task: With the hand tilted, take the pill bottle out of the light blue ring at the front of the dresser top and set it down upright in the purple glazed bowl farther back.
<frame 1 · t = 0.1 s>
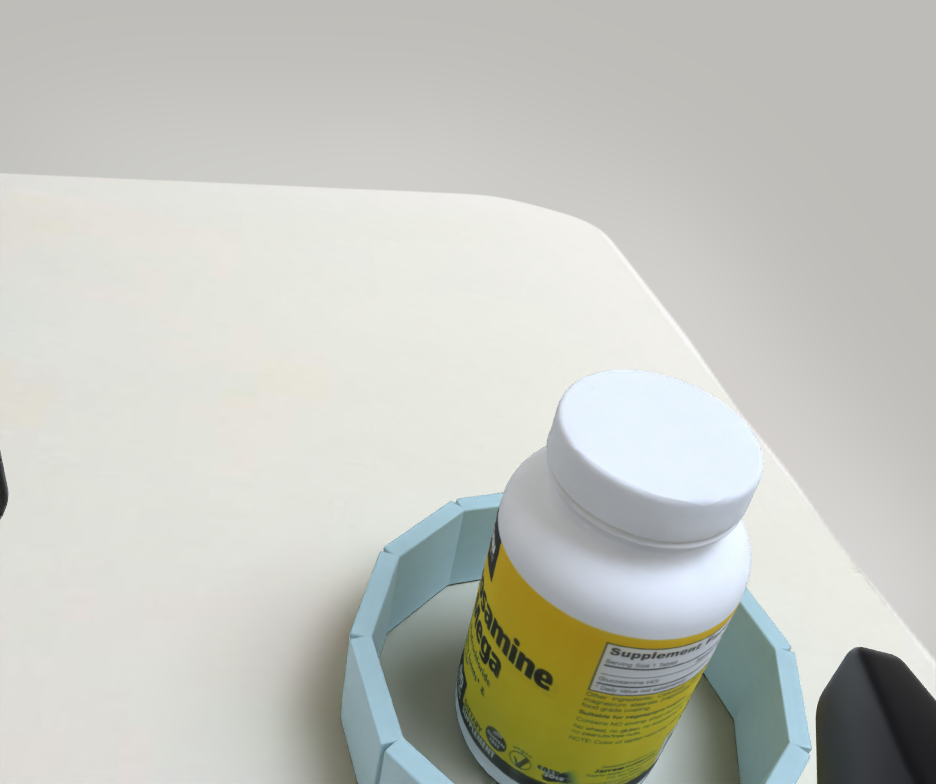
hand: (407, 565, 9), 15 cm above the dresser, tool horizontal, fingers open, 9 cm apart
light blue ring: (554, 717, 25), on the dresser
pill bottle: (552, 721, 25), resting in light blue ring
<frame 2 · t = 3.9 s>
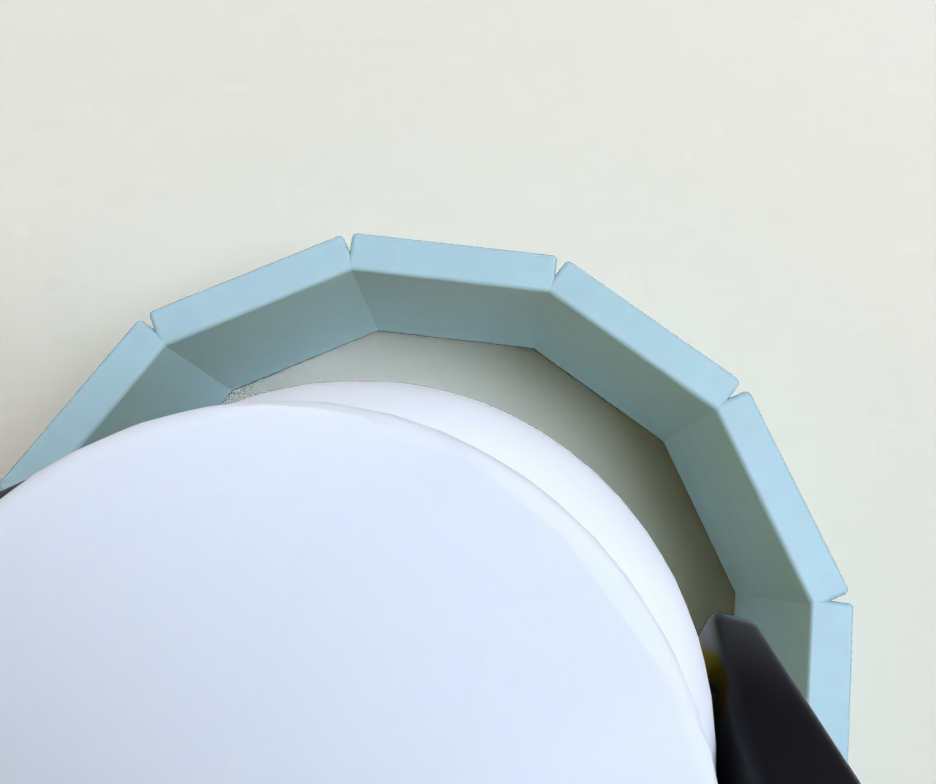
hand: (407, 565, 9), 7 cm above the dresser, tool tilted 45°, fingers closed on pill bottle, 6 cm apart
light blue ring: (417, 639, 15), on the dresser
pill bottle: (417, 638, 15), resting in light blue ring, touching gripper
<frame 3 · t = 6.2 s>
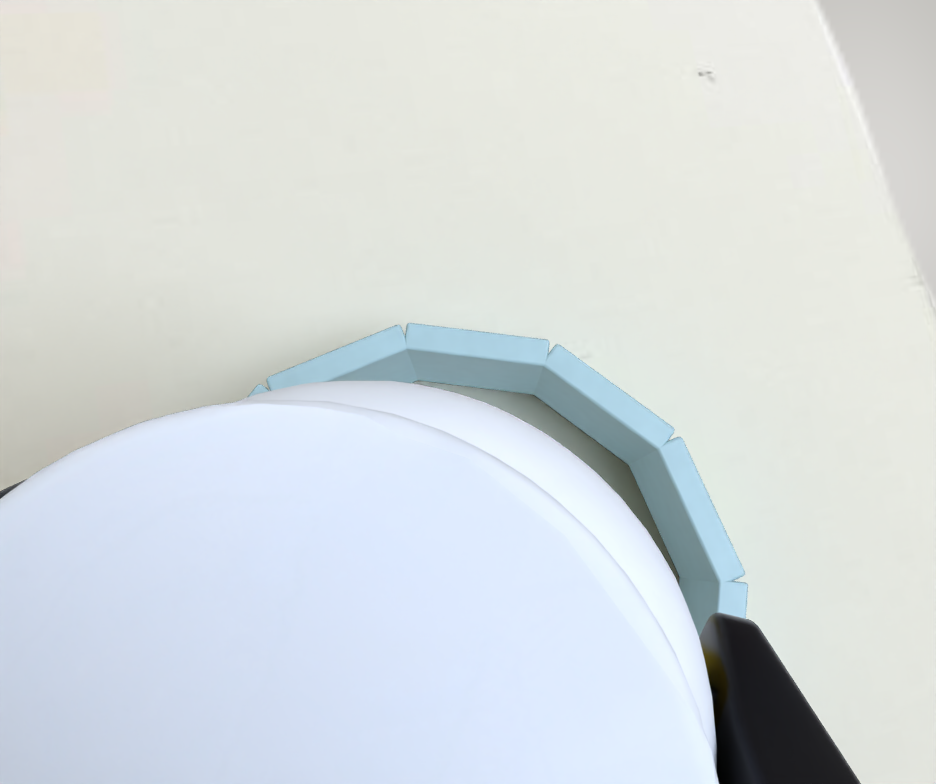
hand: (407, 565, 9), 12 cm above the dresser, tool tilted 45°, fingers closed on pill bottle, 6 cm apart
light blue ring: (446, 608, 21), on the dresser
pill bottle: (418, 638, 15), point 5 cm above the dresser, touching gripper
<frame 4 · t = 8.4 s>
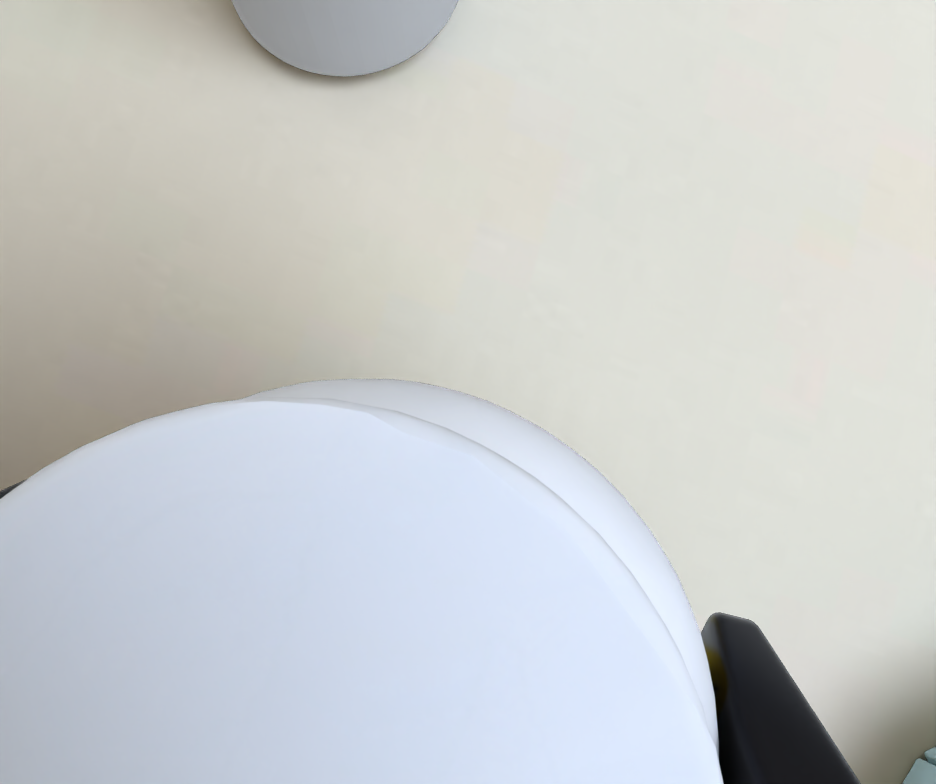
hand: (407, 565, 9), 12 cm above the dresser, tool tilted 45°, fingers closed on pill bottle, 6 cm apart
pill bottle: (419, 637, 15), point 5 cm above the dresser, touching gripper
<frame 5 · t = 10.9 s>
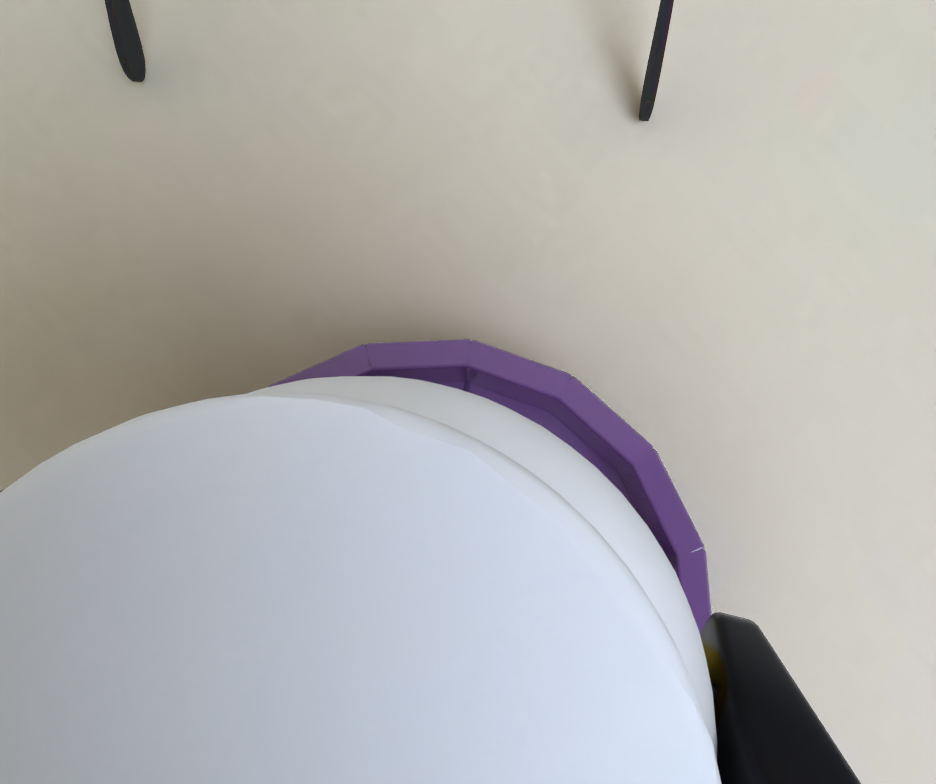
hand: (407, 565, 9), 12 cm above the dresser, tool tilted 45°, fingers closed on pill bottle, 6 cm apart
pill bottle: (418, 635, 15), point 5 cm above the dresser, touching gripper
purple bowl: (436, 604, 21), on the dresser
when the fingers open (7 cm above the dresser, at t = 13.0 s): pill bottle stays where it is, resting on purple bowl.
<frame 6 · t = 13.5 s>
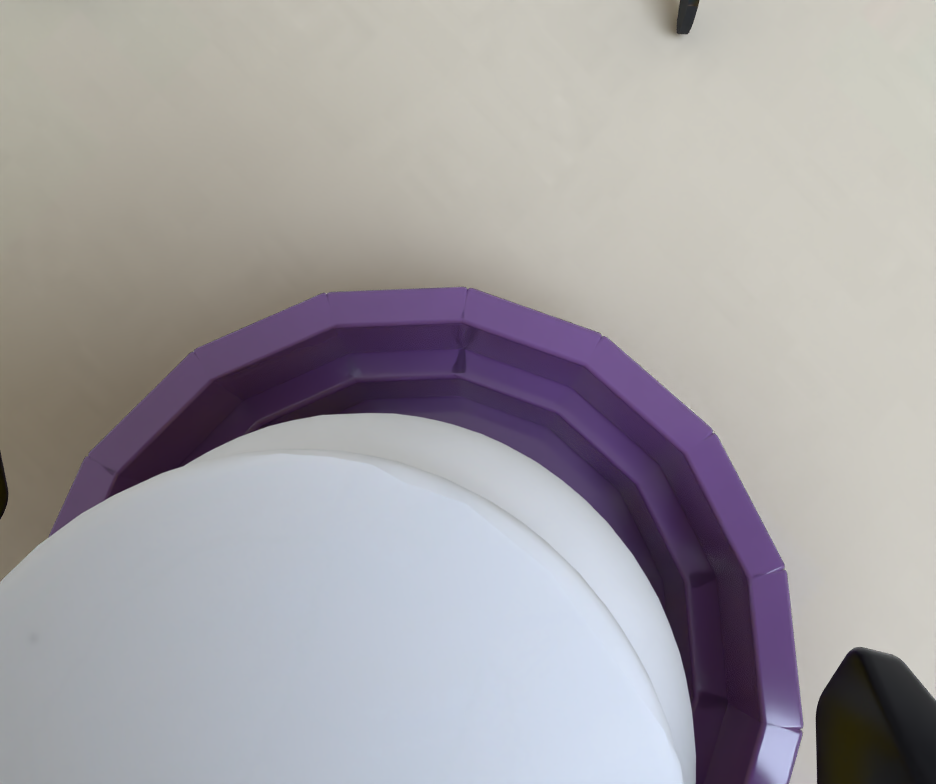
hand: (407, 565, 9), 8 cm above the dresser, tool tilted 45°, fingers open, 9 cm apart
pill bottle: (417, 646, 16), resting on purple bowl
purple bowl: (422, 637, 16), on the dresser
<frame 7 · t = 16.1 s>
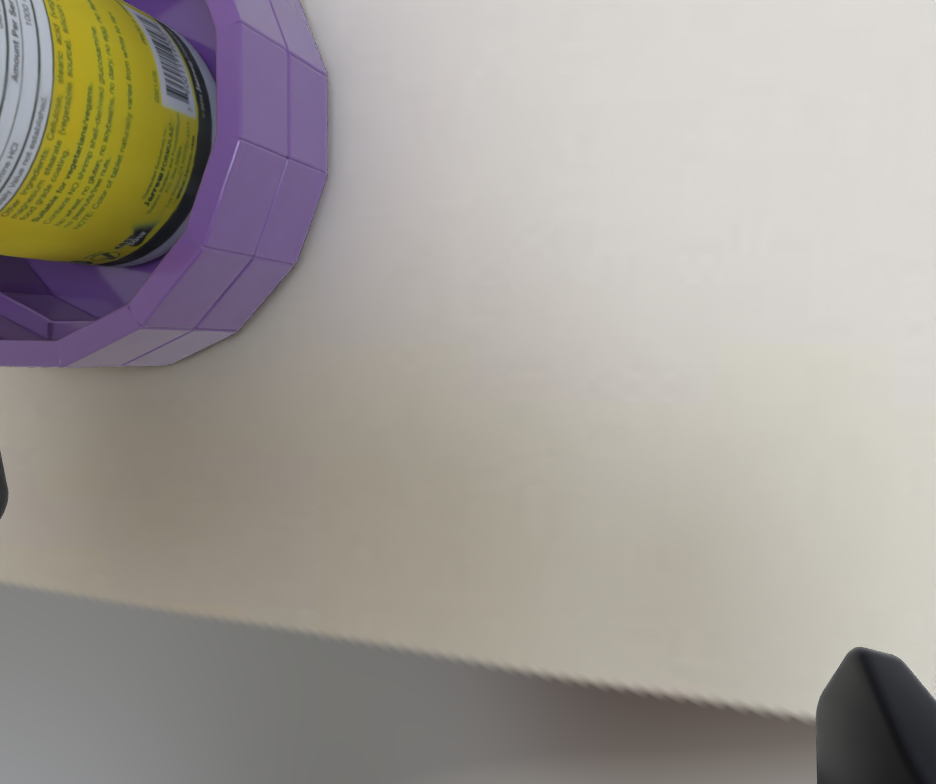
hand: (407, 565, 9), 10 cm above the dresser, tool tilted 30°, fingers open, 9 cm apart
pill bottle: (138, 150, 22), resting on purple bowl
purple bowl: (145, 147, 22), on the dresser
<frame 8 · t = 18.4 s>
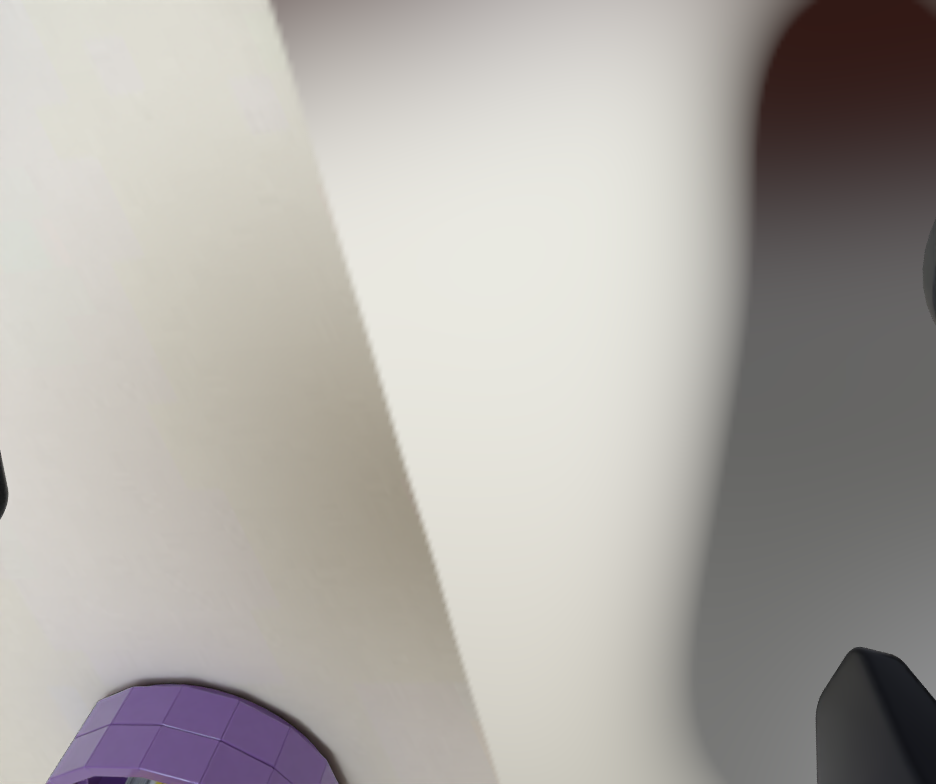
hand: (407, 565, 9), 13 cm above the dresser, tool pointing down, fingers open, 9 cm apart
purple bowl: (218, 763, 36), on the dresser
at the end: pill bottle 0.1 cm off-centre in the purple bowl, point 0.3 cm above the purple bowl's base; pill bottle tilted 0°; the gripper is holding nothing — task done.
